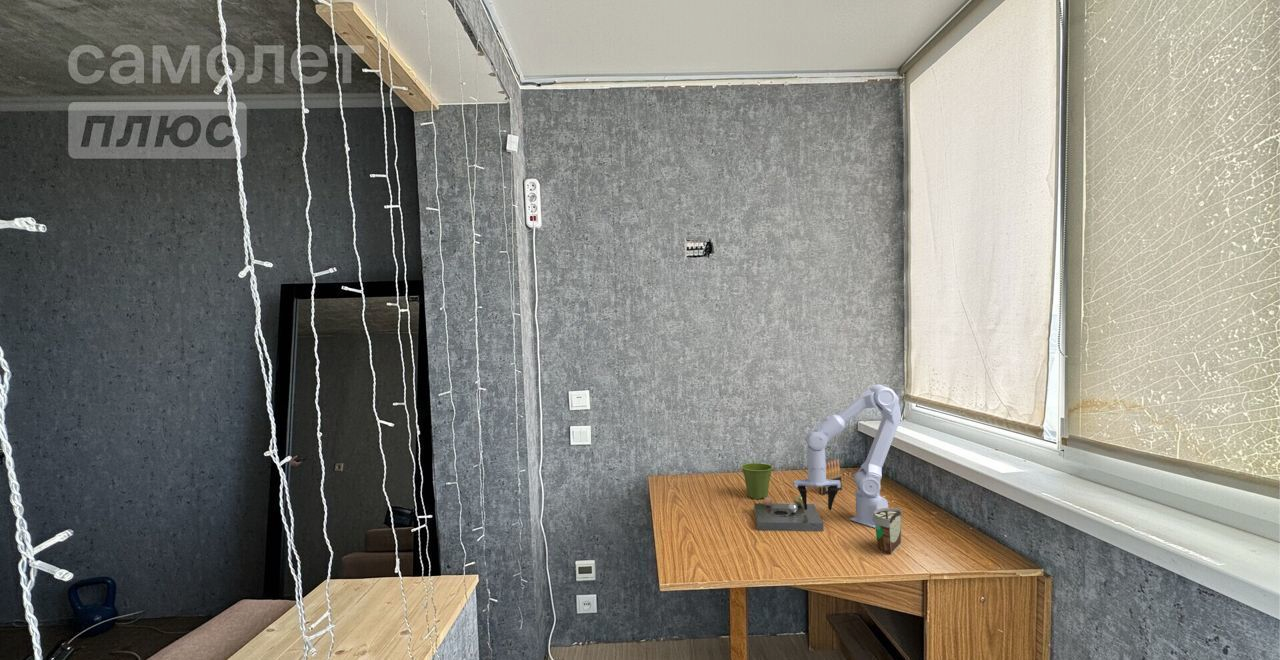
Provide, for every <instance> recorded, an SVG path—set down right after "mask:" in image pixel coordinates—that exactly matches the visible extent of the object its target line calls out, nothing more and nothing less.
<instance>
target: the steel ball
mask: <svg viewBox="0 0 1280 660" xmlns="http://www.w3.org/2000/svg"><path fill="white" fill-rule="evenodd" d="M788 504H789V505H788V510H789V511H790V512H791V513H796V512H797V511H798V506H797V505H796V504H795V503H794V502H790V503H788Z"/></svg>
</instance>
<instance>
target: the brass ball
mask: <svg viewBox="0 0 1280 660" xmlns="http://www.w3.org/2000/svg"><path fill="white" fill-rule="evenodd" d="M793 503H795V504H796V505H797V506H803V505H804V504H803V500H802V497H801V494H800V495H799V494H798V495H795V497H794V498H793Z"/></svg>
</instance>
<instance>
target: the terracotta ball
mask: <svg viewBox="0 0 1280 660" xmlns="http://www.w3.org/2000/svg"><path fill="white" fill-rule="evenodd" d="M762 502H763V503H764V504H765V505H766V506H770V505H771V504H773V499H772V498H771V497H770V496H767V497H765V498H763V501H762Z"/></svg>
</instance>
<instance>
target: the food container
mask: <svg viewBox="0 0 1280 660" xmlns="http://www.w3.org/2000/svg"><path fill="white" fill-rule="evenodd" d="M902 515H903V512H902V508H898V507H897V508H896V507H895V508H894V507H888V508H882V509H878V510H876V511H875V512H874V514H873V518H872V520H873V522H874V523H875V528H874V529H875V537H876V545H877V549H878V550H879V551H880V552H881V553H885V554H888V555H890V556H891V555H893V553H894V552H895V551H897V549H898V548H900V546H901V545H902Z"/></svg>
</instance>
